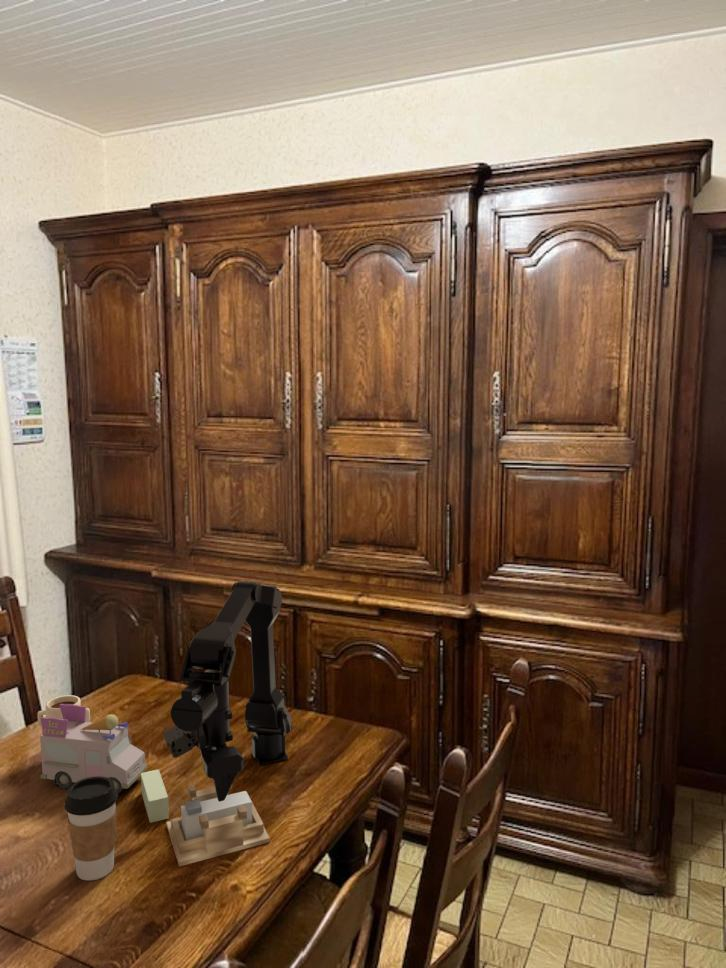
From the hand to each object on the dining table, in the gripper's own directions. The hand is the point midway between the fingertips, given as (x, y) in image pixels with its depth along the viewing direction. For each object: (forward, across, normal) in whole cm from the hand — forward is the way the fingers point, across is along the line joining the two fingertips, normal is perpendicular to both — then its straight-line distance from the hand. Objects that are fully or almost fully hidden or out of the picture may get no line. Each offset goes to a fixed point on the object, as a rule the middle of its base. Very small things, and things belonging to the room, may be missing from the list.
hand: (215, 787), depth 130 cm
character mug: (+9, -41, -24) cm, 49 cm away
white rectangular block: (+8, 0, 0) cm, 8 cm away
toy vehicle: (+9, -28, -19) cm, 35 cm away
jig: (+9, 0, 0) cm, 9 cm away
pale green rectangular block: (+9, -14, -9) cm, 19 cm away
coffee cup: (+9, +1, -21) cm, 23 cm away
